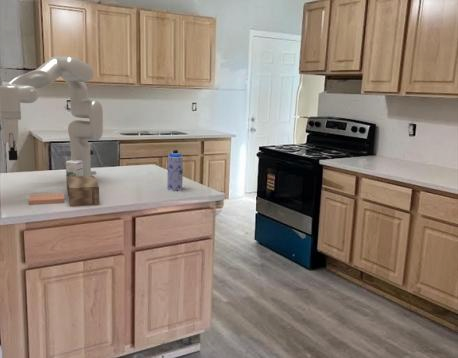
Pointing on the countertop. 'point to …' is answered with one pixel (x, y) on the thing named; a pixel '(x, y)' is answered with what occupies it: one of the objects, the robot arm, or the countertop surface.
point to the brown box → (83, 190)
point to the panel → (46, 198)
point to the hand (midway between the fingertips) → (13, 159)
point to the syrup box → (74, 168)
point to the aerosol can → (175, 171)
